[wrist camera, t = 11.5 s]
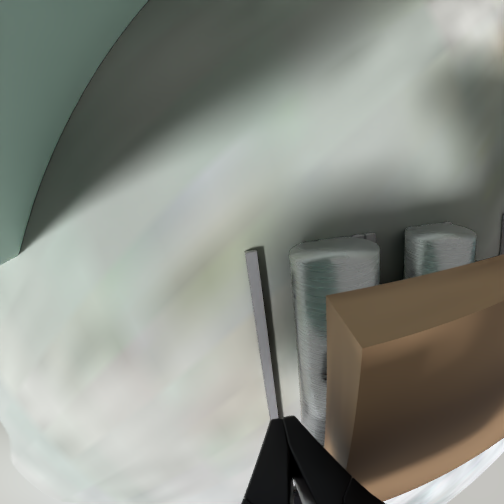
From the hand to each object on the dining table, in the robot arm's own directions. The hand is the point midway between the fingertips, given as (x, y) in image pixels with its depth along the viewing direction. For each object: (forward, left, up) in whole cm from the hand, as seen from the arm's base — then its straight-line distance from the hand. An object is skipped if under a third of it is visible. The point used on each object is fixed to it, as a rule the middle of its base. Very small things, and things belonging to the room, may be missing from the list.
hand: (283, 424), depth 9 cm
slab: (0, -7, 0) cm, 6 cm away
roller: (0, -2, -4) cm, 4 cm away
